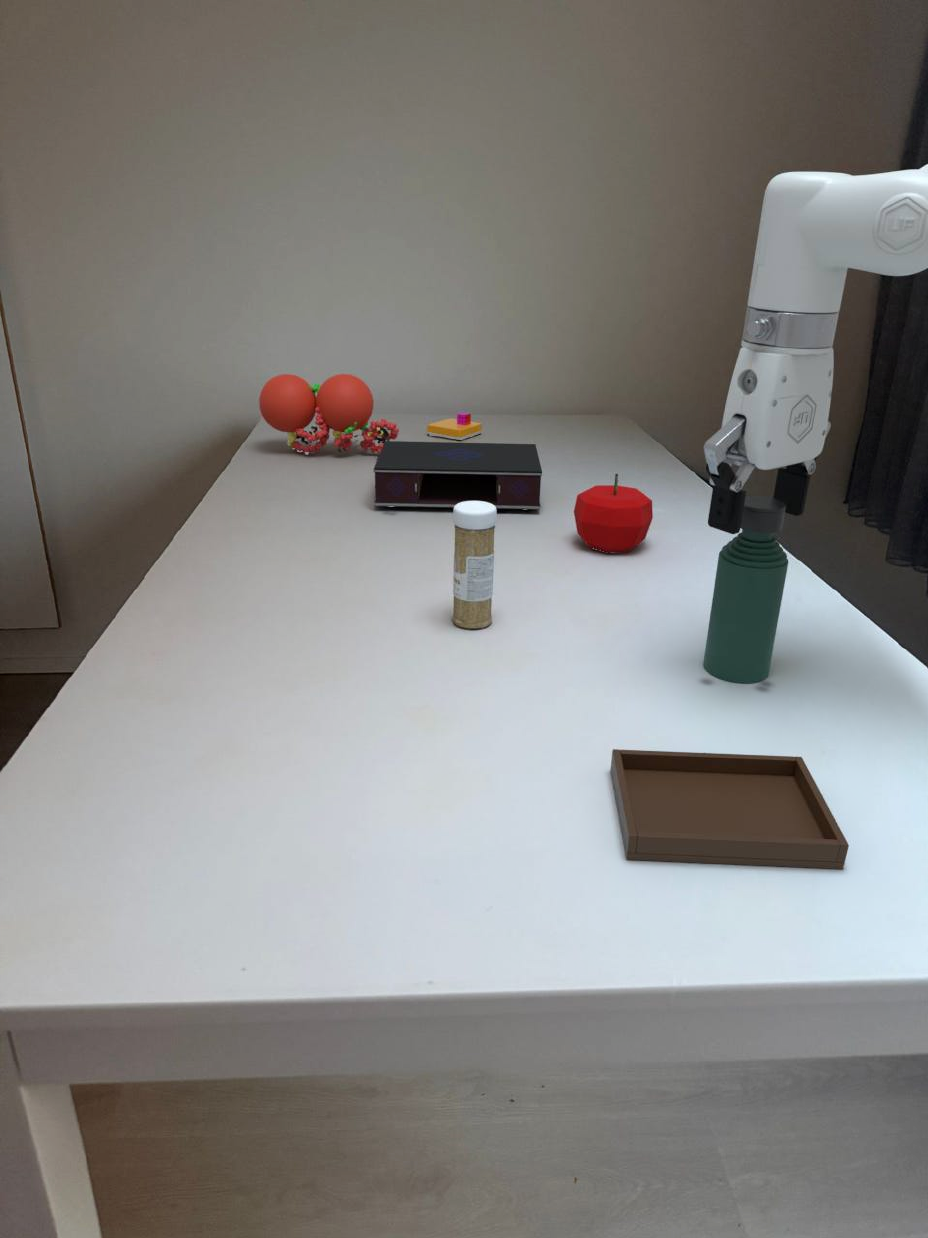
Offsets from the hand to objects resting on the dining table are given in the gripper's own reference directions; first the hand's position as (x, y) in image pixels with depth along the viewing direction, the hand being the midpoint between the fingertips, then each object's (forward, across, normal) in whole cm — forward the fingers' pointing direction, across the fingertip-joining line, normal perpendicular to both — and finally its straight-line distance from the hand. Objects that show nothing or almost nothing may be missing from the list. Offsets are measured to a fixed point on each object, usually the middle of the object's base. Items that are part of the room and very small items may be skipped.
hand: (755, 520), depth 85 cm
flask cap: (-2, 0, 0) cm, 2 cm away
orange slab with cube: (+17, +38, +98) cm, 107 cm away
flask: (+16, 0, 0) cm, 16 cm away
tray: (+16, -21, -15) cm, 30 cm away
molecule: (+17, +10, +98) cm, 100 cm away
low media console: (+16, +13, +63) cm, 67 cm away
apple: (+16, +16, +33) cm, 40 cm away
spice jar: (+16, -15, +24) cm, 32 cm away
